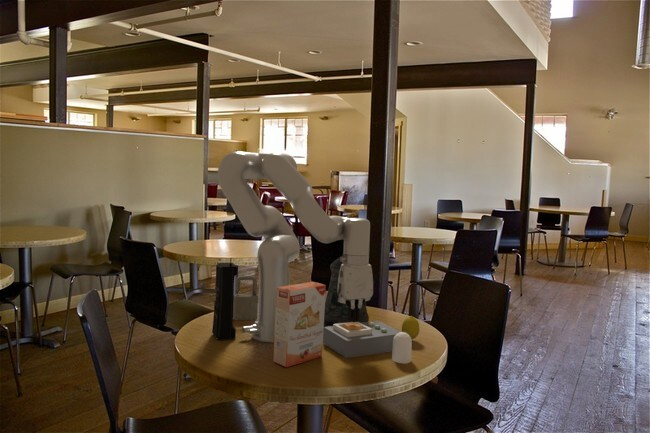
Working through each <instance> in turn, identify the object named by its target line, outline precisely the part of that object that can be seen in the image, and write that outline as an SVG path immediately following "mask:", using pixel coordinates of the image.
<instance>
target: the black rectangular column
mask: <svg viewBox="0 0 650 433" xmlns="http://www.w3.org/2000/svg"><path fill="white" fill-rule="evenodd" d="M229 259H230V260H229V262H217V264H216V269H215V273H216V274H215V290H216V293H215V300H214V305H213V321H212V332H211V333H212V334H213V336H214V338H215V339H216V340H217V341H225V340H233V339H236V331H237V329H236V327H235V326H234V319H233V304H234V295H235V277H236V276H237V275H238V273H239V272H238V267H239V266H237V265H236V264H235V263H234V262H232V257H230V258H229Z"/></svg>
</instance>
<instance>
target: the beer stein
mask: <svg viewBox="0 0 650 433" xmlns="http://www.w3.org/2000/svg"><path fill="white" fill-rule="evenodd" d="M343 254H344V251H343V253H342V255H341V256H340V257H343ZM340 257H338V258H337V259H335V260H334V261H333V262H332V263H331V264H330V268H329V269H330V272H331V275H330V280H329V284H328V285H329V286H328V290H327V293H326V294H327V295H326V297H325V312H324V327H328V326H333V324H338V323H347V322H352V321H350V320H349V319H348V307H347V305H346V304H344V303H340V302H338V297H339V296H338V292H337V289H338V278H339V272H340V268H341V264H343V261H340ZM372 275H373V272H372ZM373 276H374V275H373ZM366 302H367V301H366ZM366 302H364V303H363V304H362V307H361V308H360V312H359V321H358V322H359V323H362V322H370V316H369V313H368V311H367V310H368V309H367V303H366Z"/></svg>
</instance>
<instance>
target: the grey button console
mask: <svg viewBox="0 0 650 433" xmlns="http://www.w3.org/2000/svg"><path fill="white" fill-rule="evenodd" d="M347 323H354V322H347ZM355 323H357V324H359V325H361V326H362V329H360V330H352V331H348V330H346V329H345V328H343V324H346V323H338V324H333V326H328V327H324V329H323V345H325V346H327V347H328V348H329V349H331V350H333V351H334V352H336V353H338V355H339V354H340V356H342V357H343V358H346V359H349V358H355V357H356V358H357V357H362V356H369V355H377V354H382V353H388V352H392V349H393V339H394V336H395V335H396V334H397V333H400V332H402V330H401V331H400V330H399V329H397V328H394V327H392V326H390V325H388V324H386V323H384V322H382V321H380V320H372V321H370V320H369V321H368V322H362V323H359V322H355Z"/></svg>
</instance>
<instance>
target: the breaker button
mask: <svg viewBox="0 0 650 433" xmlns="http://www.w3.org/2000/svg"><path fill="white" fill-rule="evenodd" d="M343 328H345V329H346V330H348V331H352V330H360V329H362V326H361V325H359V324H357V323H355V322H354V323H346V324H343Z"/></svg>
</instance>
